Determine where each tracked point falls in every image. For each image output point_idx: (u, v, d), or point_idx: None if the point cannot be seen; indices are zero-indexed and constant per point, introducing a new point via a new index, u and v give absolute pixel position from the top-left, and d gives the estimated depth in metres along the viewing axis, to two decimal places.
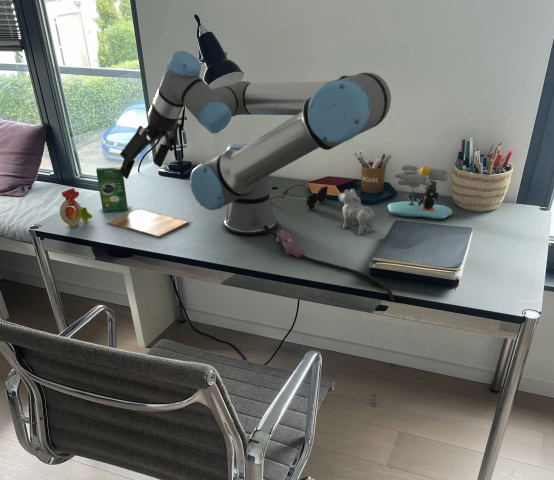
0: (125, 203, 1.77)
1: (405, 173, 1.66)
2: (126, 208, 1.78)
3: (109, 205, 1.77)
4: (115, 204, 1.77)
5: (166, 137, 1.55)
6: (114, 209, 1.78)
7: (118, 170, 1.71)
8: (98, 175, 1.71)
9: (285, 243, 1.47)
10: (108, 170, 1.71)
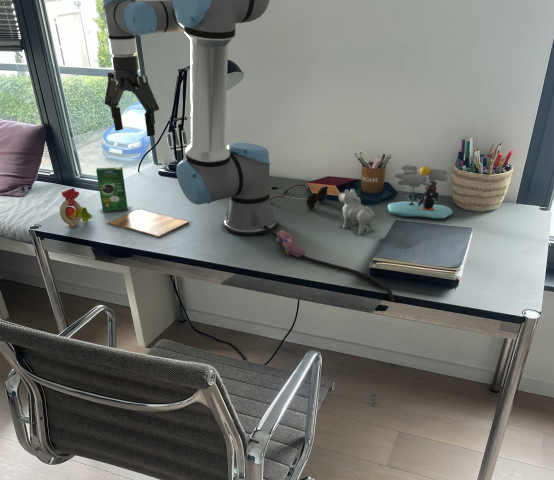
0: (125, 203, 1.77)
1: (405, 173, 1.66)
2: (126, 208, 1.78)
3: (109, 205, 1.77)
4: (115, 204, 1.77)
5: (131, 89, 1.66)
6: (114, 209, 1.78)
7: (118, 170, 1.71)
8: (98, 175, 1.71)
9: (285, 243, 1.47)
10: (108, 170, 1.71)
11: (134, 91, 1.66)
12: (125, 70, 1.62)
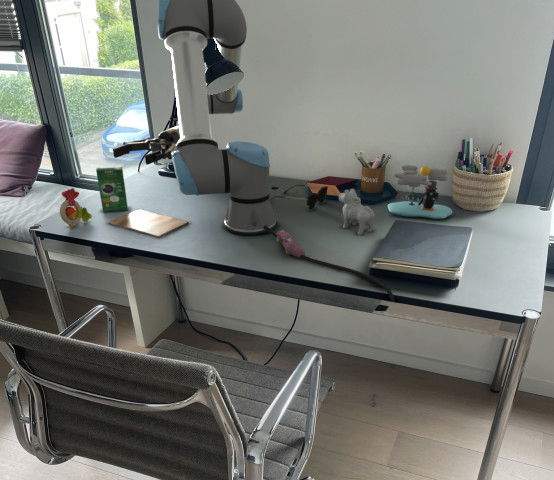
0: (125, 203, 1.77)
1: (405, 173, 1.66)
2: (126, 208, 1.78)
3: (109, 205, 1.77)
4: (115, 204, 1.77)
5: (162, 142, 1.84)
6: (114, 209, 1.78)
7: (118, 170, 1.71)
8: (98, 175, 1.71)
9: (285, 243, 1.47)
10: (108, 170, 1.71)
11: (163, 143, 1.83)
12: (171, 135, 1.86)
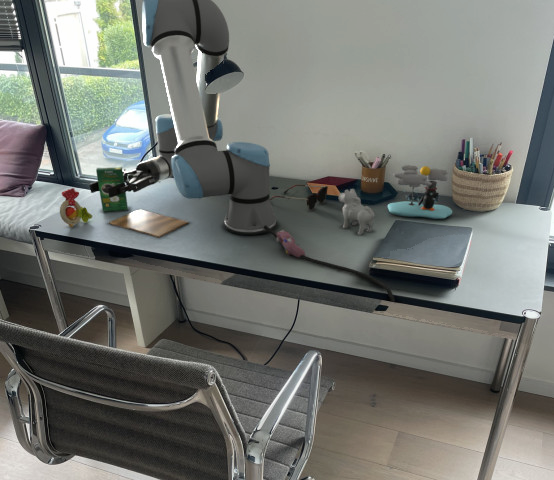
0: (125, 203, 1.77)
1: (405, 173, 1.66)
2: (126, 208, 1.78)
3: (109, 205, 1.77)
4: (115, 204, 1.77)
5: (136, 174, 1.79)
6: (114, 209, 1.78)
7: (118, 170, 1.71)
8: (98, 175, 1.71)
9: (285, 243, 1.47)
10: (108, 170, 1.71)
11: (136, 175, 1.79)
12: (149, 166, 1.82)
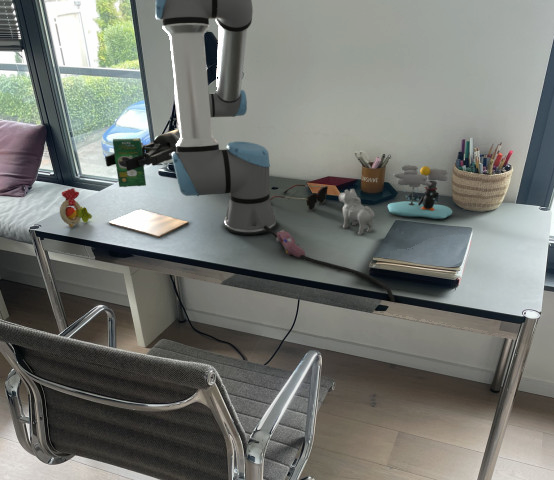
0: (143, 178, 1.65)
1: (405, 173, 1.66)
2: (144, 183, 1.66)
3: (126, 180, 1.64)
4: (133, 179, 1.64)
5: (155, 147, 1.67)
6: (131, 184, 1.65)
7: (136, 141, 1.59)
8: (115, 147, 1.58)
9: (285, 243, 1.47)
10: (125, 141, 1.58)
11: (155, 148, 1.66)
12: (168, 139, 1.70)
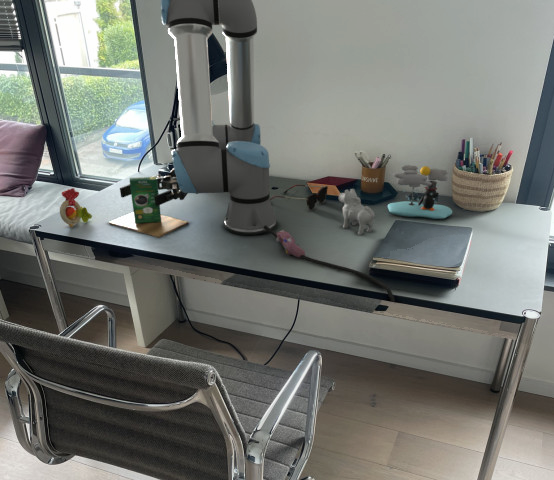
0: (159, 215, 1.68)
1: (405, 173, 1.66)
2: (159, 220, 1.69)
3: (142, 217, 1.67)
4: (149, 215, 1.67)
5: (173, 180, 1.69)
6: (147, 221, 1.68)
7: (152, 180, 1.62)
8: (131, 185, 1.61)
9: (285, 243, 1.47)
10: (142, 180, 1.61)
11: (175, 182, 1.69)
12: None
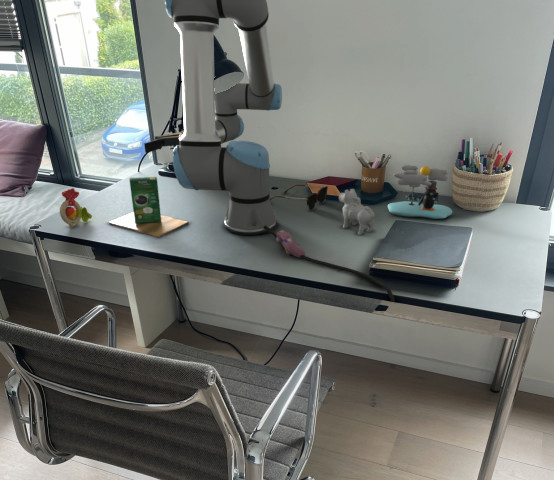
0: (159, 215, 1.68)
1: (405, 173, 1.66)
2: (159, 220, 1.69)
3: (142, 217, 1.67)
4: (149, 215, 1.67)
5: None
6: (147, 221, 1.68)
7: (152, 180, 1.62)
8: (131, 185, 1.61)
9: (285, 243, 1.47)
10: (142, 180, 1.61)
11: None
12: None
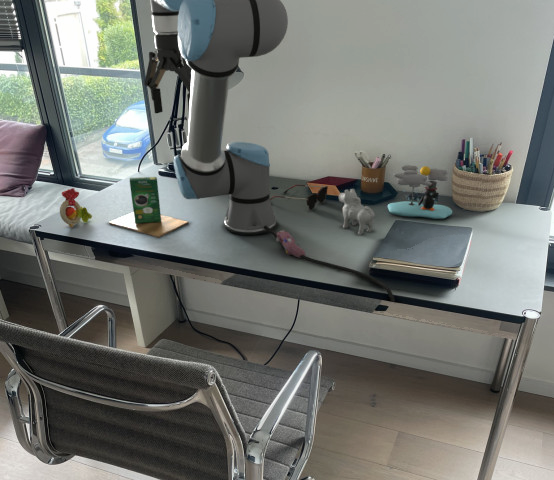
0: (159, 215, 1.68)
1: (405, 173, 1.66)
2: (159, 220, 1.69)
3: (142, 217, 1.67)
4: (149, 215, 1.67)
5: (174, 68, 1.59)
6: (147, 221, 1.68)
7: (152, 180, 1.62)
8: (131, 185, 1.61)
9: (285, 243, 1.47)
10: (142, 180, 1.61)
11: (177, 71, 1.59)
12: (168, 48, 1.56)
